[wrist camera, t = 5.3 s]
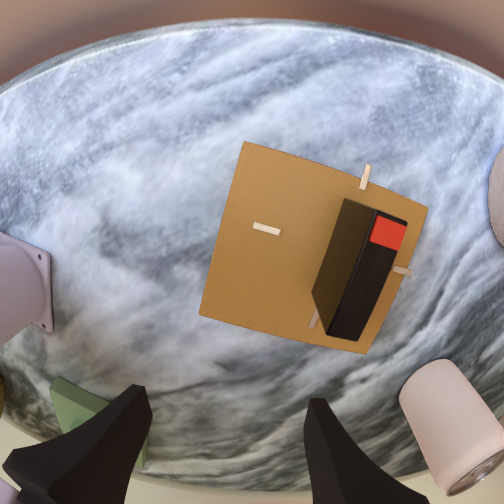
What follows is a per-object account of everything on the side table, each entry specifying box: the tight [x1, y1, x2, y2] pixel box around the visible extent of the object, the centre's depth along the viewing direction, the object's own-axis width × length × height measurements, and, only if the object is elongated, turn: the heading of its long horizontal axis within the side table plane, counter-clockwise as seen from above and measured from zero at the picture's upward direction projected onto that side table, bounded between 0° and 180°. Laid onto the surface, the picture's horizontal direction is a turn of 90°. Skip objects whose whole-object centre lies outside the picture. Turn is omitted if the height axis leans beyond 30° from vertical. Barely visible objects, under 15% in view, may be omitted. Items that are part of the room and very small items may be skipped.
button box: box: [49, 377, 148, 469], centre depth 22 cm, size 11×9×4 cm
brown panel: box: [199, 141, 428, 354], centre depth 16 cm, size 11×11×3 cm
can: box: [399, 359, 504, 497], centre depth 15 cm, size 6×6×12 cm
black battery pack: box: [311, 198, 408, 342], centre depth 13 cm, size 6×2×5 cm, turn 164°
